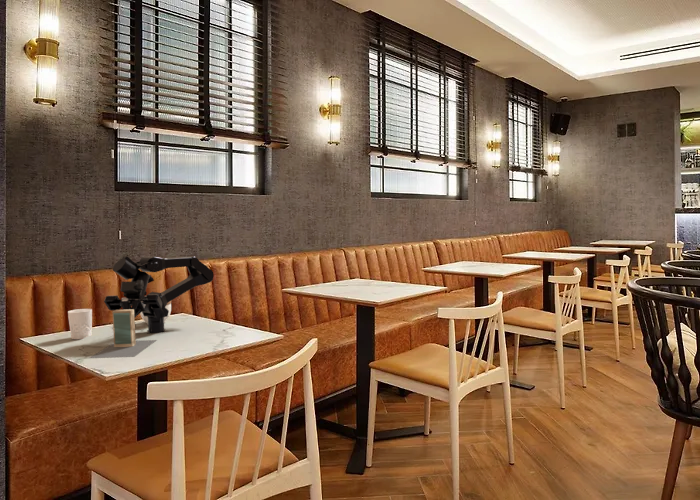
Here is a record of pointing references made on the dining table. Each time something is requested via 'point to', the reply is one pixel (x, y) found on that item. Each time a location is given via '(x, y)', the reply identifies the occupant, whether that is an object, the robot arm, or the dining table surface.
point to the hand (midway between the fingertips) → (127, 322)
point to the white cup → (80, 323)
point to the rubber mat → (123, 350)
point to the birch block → (124, 328)
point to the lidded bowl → (164, 317)
